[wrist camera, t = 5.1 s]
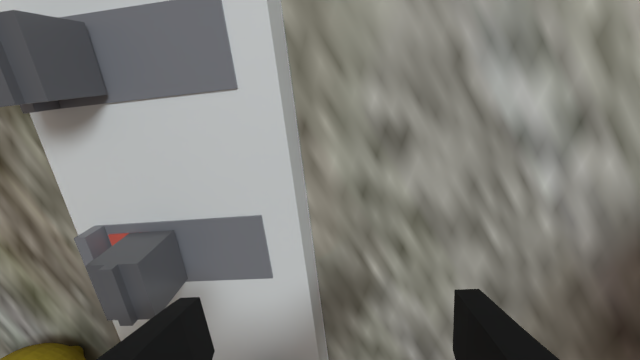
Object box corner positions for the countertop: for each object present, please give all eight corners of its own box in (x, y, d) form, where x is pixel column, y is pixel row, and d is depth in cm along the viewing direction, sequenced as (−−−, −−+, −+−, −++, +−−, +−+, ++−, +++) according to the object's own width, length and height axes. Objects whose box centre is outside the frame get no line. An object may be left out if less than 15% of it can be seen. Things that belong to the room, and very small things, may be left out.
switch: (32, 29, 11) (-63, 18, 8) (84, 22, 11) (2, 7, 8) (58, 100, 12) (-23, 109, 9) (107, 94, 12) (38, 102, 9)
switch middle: (129, 232, 13) (78, 270, 11) (173, 230, 13) (131, 268, 11) (145, 280, 14) (101, 326, 12) (187, 278, 14) (151, 325, 11)
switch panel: (38, -18, 13) (-71, -48, 10) (272, -58, 12) (242, -109, 9) (178, 388, 20) (144, 452, 17) (332, 389, 19) (328, 457, 16)
